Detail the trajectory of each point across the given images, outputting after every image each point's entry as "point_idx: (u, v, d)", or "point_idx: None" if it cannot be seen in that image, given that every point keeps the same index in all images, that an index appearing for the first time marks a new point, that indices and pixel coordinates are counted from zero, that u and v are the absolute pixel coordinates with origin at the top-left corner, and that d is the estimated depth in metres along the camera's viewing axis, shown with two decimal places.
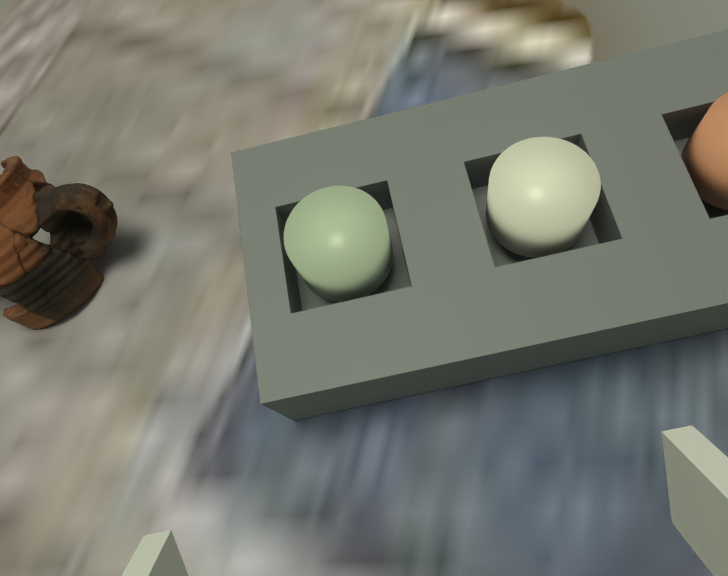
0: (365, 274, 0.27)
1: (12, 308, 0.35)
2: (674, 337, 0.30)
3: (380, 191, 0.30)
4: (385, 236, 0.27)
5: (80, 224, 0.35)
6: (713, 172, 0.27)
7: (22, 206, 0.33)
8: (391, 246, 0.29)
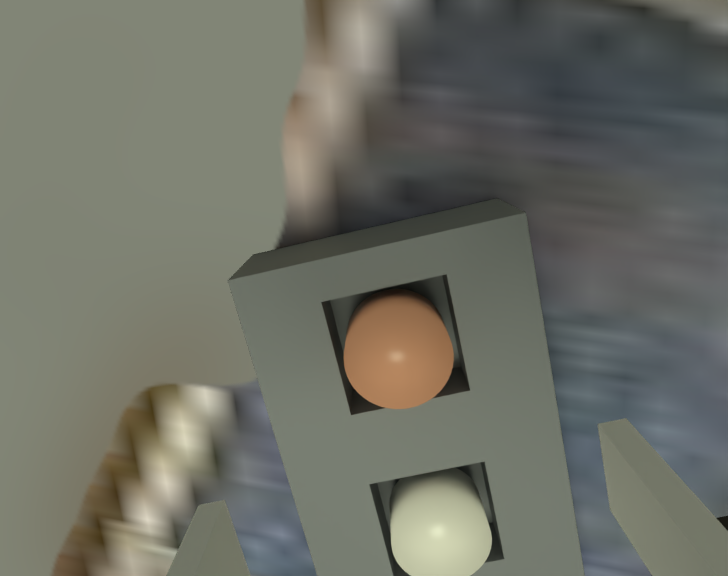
0: None
1: None
2: None
3: None
4: None
5: None
6: None
7: None
8: None
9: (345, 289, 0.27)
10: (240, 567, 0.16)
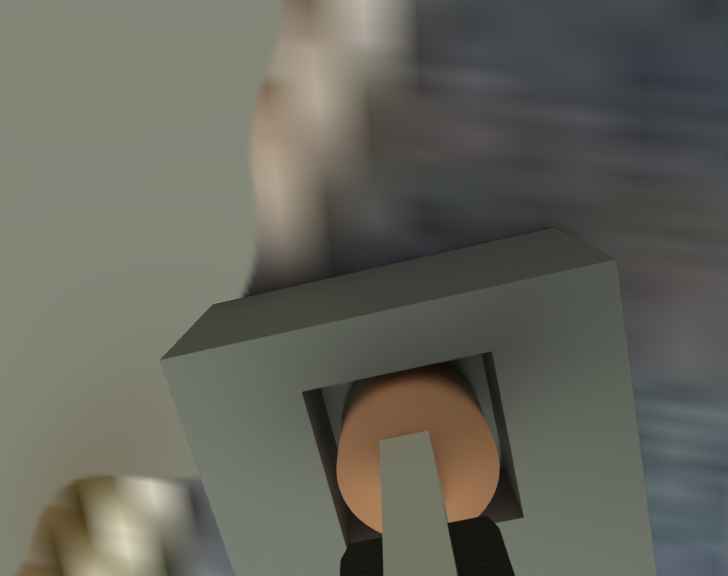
0: None
1: None
2: None
3: None
4: None
5: None
6: None
7: None
8: None
9: (338, 373, 0.18)
10: None
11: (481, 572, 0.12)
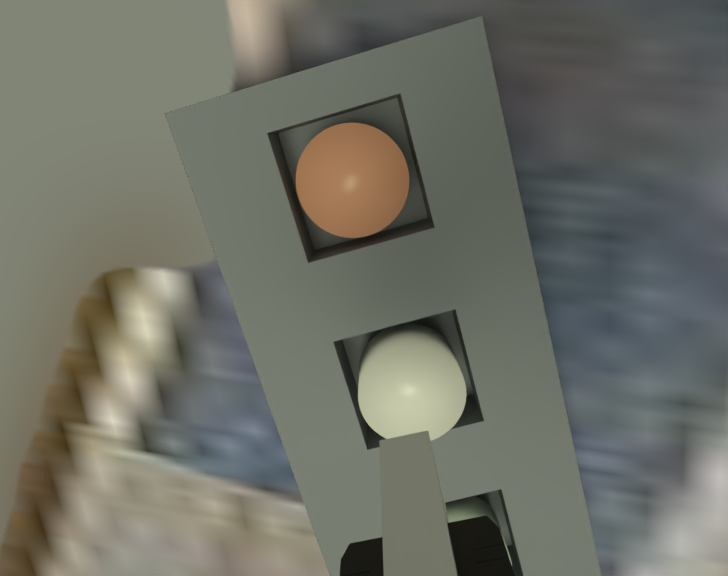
0: None
1: None
2: None
3: None
4: None
5: None
6: None
7: None
8: (453, 501, 0.30)
9: (292, 116, 0.25)
10: None
11: (481, 573, 0.12)
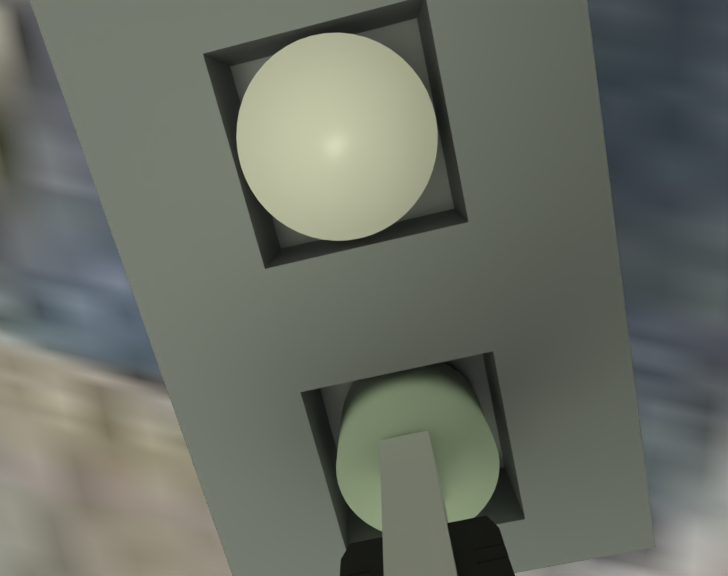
0: (482, 416, 0.18)
1: None
2: None
3: (307, 392, 0.19)
4: (429, 396, 0.17)
5: None
6: None
7: None
8: None
9: None
10: None
11: (481, 572, 0.12)
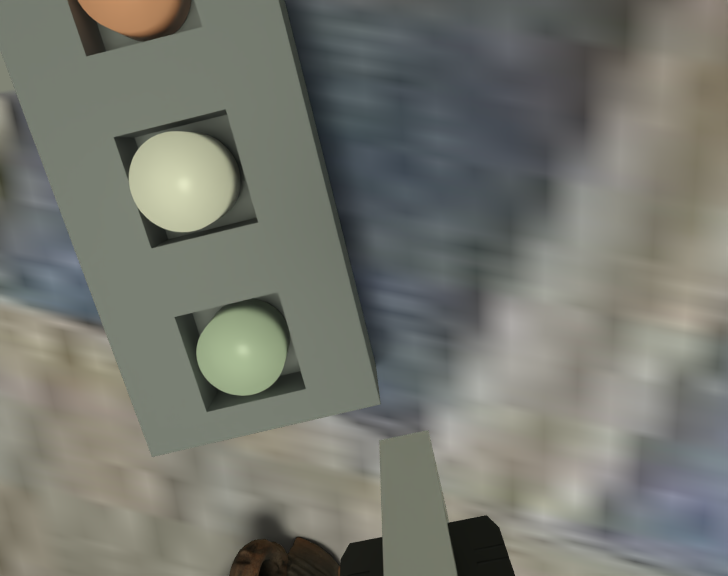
0: (276, 326, 0.33)
1: None
2: (296, 49, 0.34)
3: (181, 319, 0.33)
4: (243, 314, 0.32)
5: (259, 570, 0.40)
6: (163, 24, 0.29)
7: None
8: (242, 302, 0.34)
9: None
10: None
11: (481, 572, 0.12)
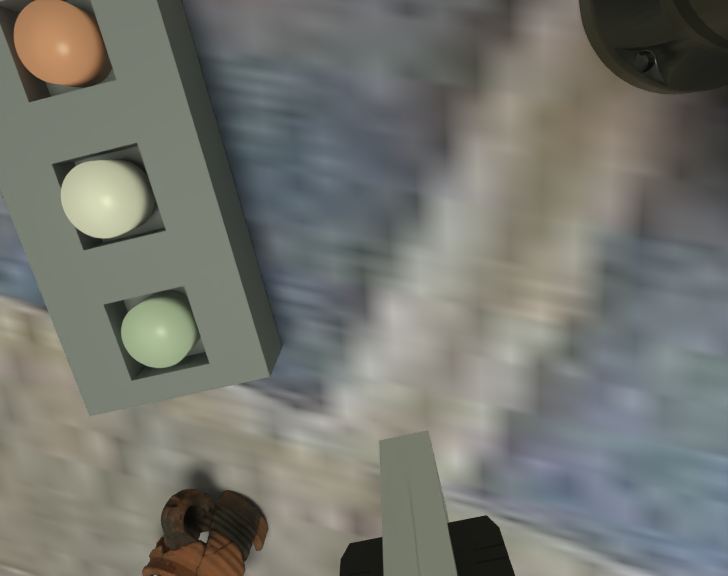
0: (184, 313, 0.41)
1: (255, 545, 0.50)
2: (205, 89, 0.42)
3: (111, 306, 0.42)
4: (157, 302, 0.40)
5: (190, 514, 0.48)
6: (88, 76, 0.37)
7: (183, 555, 0.46)
8: (161, 293, 0.42)
9: None
10: None
11: (481, 572, 0.12)
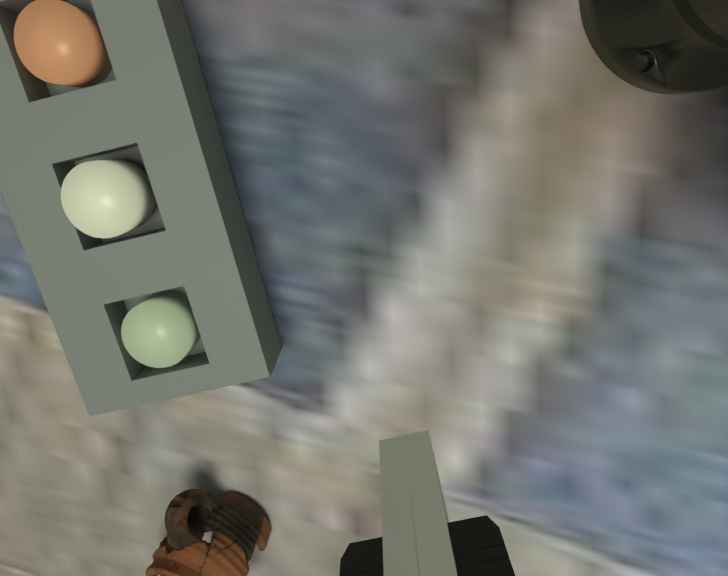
0: (184, 312, 0.41)
1: (259, 545, 0.50)
2: (205, 89, 0.42)
3: (111, 306, 0.42)
4: (157, 302, 0.40)
5: (193, 514, 0.48)
6: (88, 76, 0.37)
7: (187, 555, 0.46)
8: (161, 293, 0.42)
9: None
10: None
11: (481, 572, 0.12)
